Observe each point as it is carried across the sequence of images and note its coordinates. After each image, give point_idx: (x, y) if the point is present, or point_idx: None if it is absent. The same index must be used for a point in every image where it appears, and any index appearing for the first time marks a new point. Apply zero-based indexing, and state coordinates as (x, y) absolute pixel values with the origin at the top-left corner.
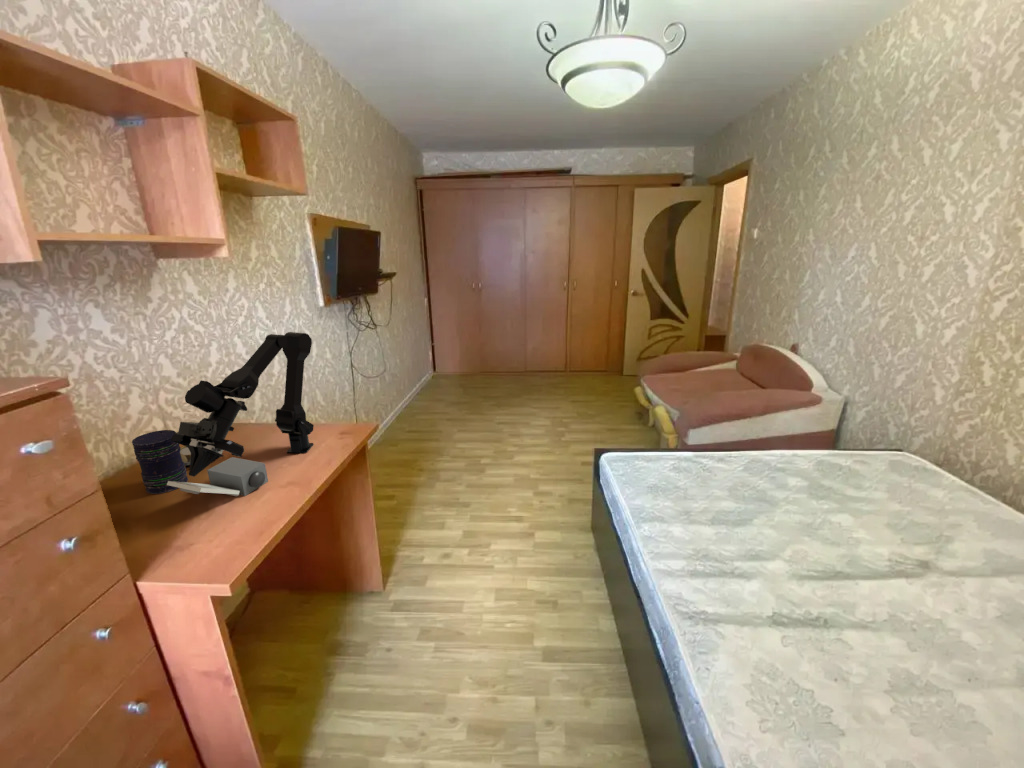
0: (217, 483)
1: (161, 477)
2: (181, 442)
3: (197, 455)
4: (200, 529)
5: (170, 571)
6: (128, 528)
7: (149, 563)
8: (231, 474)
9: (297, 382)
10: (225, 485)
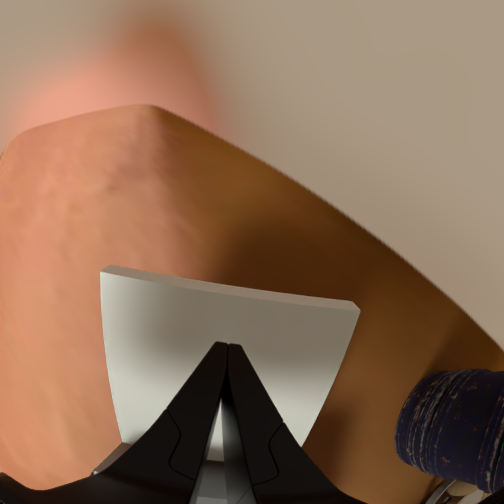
0: None
1: (448, 395)
2: (502, 498)
3: (245, 495)
4: (129, 245)
5: (107, 122)
6: (347, 224)
7: (166, 127)
8: None
9: None
10: (211, 469)
